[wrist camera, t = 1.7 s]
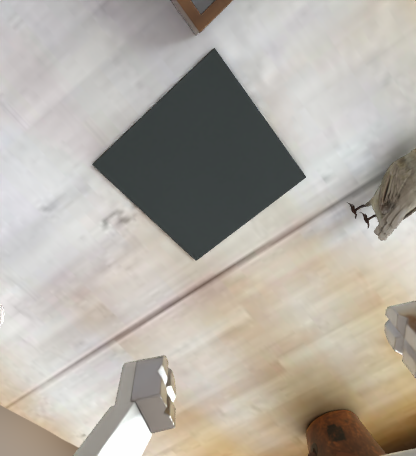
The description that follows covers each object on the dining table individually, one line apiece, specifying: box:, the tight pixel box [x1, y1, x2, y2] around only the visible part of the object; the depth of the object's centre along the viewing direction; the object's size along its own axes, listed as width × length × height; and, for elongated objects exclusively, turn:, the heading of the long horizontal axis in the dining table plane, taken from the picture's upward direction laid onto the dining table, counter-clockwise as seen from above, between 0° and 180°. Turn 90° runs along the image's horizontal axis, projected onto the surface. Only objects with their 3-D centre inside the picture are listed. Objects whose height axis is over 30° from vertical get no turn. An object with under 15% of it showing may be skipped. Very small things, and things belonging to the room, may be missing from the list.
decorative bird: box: [348, 149, 416, 241], centre depth 41 cm, size 5×16×8 cm, turn 145°
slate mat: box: [93, 48, 306, 261], centre depth 42 cm, size 20×20×1 cm
